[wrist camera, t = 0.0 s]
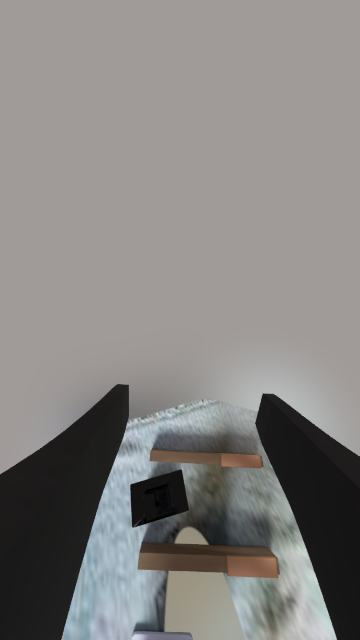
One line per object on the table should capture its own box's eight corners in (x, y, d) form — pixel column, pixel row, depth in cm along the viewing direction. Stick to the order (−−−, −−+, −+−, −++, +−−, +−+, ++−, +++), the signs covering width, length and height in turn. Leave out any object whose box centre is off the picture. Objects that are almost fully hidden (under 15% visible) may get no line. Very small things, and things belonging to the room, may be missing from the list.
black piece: (188, 461, 35) (191, 465, 31) (198, 514, 31) (202, 525, 27) (121, 480, 33) (115, 486, 29) (123, 539, 29) (116, 556, 25)
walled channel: (269, 563, 28) (281, 578, 25) (140, 558, 28) (137, 572, 25) (254, 453, 35) (262, 455, 33) (151, 448, 35) (150, 449, 32)
